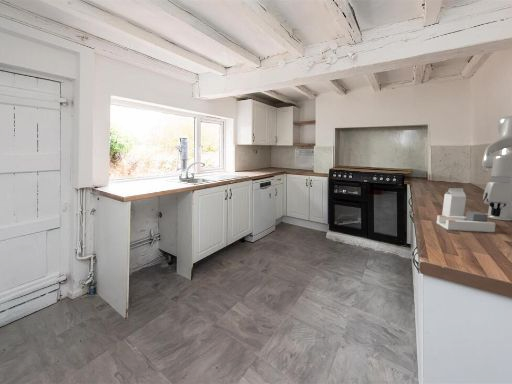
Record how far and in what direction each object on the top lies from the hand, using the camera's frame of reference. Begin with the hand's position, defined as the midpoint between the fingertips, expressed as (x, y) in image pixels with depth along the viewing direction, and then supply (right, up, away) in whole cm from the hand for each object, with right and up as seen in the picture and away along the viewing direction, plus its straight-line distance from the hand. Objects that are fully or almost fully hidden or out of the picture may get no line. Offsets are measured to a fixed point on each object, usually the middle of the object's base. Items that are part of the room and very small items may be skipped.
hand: (495, 215), depth 121 cm
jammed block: (-7, -5, +3) cm, 10 cm away
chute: (-12, -7, +4) cm, 15 cm away
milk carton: (-8, -5, +17) cm, 19 cm away
